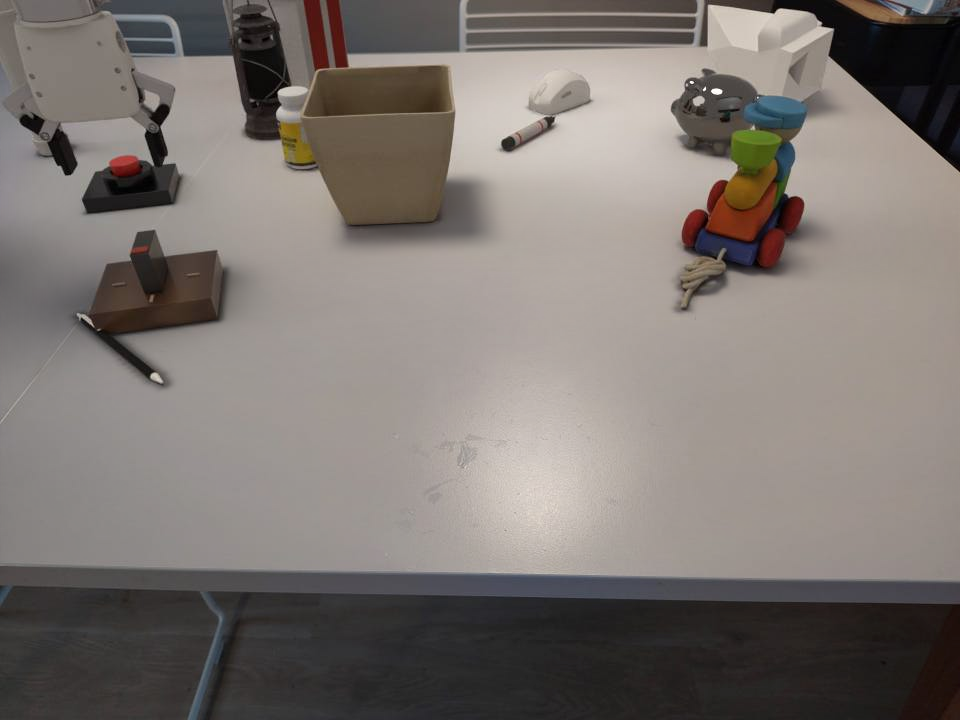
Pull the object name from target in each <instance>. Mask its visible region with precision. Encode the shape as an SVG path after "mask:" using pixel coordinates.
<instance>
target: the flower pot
mask: <svg viewBox="0 0 960 720" xmlns="http://www.w3.org/2000/svg"><path fill="white" fill-rule="evenodd" d="M300 118H301V122H302V125H303V128H304V131H305V134H306V137H307V140H308V143H309V146H310V148H311V151H312V153H313V156H314V159H315V161H316V164H317V166H316V167H317V168H318V171H319V173H320V175H321V178H322V180H323V182H324V184H325V186H326V188H327V190H328V193H329V195H330V197H331V198H332V201H333V203H334V204H335V206H336V208H337V210H338V211H339V213H340V215H341V216H342V218H343V220H344V221H345V223H346V224H347V225H351V226H356V225H357V226H359V225H361V226H362V225H383V224H384V225H385V224H408V223H409V224H411V223H429V222H433V221H435V220H436V219H437V217H438V213H439V211H440V207H441V204H442V201H443V200H442V199H443V195H444V192H445V188H446V183H447V178H448V174H449V168H450V162H451V156H452V155H451V154H452V149H453V141H454V134H455V123H456V122H455V121H456V105H455V98H454V93H453V83H452V69H451V65H448V64H445V63H443V64H417V65H415V64H414V65H387V66H384V65H383V66H382V65H381V66H355V67H354V66H353V67H349V68H326V69H319V70H317V71H316V72H315V75H314V78H313V82H312V85H311V87H310V90H309V93H308V96H307V98H306V101H305V103H304V106H303V108H302V111H301V114H300Z"/></svg>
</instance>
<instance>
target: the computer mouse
mask: <svg viewBox="0 0 960 720" xmlns="http://www.w3.org/2000/svg"><path fill="white" fill-rule="evenodd" d="M590 99H591V88H590V85H589V82H588V81H587V79H586V78H585V77H584V76H583V75H582V74H579V73H578V72H576V71H573V70H571V69H566V68H561V69H554V70H552V71H550V72H549V73H547V74H546V75H545V76H543V77H542V78H541V79H539V81H537V82H536V84H535V85H534V86H533V87H532V88H531V89H530V92H529V94H528V106H529V107H528V108H529V109H531V110H532V111H534V112H537V113H539V114H542V115H549V116H551V115H555V114H559V113H561V112H564V111H567V110H570V109H572V108H575V107H578V106H581V105H584V104H586V103H588V102H589V101H590Z"/></svg>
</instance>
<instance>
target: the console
mask: <svg viewBox="0 0 960 720" xmlns="http://www.w3.org/2000/svg"><path fill="white" fill-rule="evenodd" d="M164 256H165V259H166V262H167V265H168V269H167V274H166V278H165V282H164V286H163V291H158V292H151V293H144V291H143V288H142V286H141V283H140V281H139V278H138V276H137V273H136V271H135V268H134V266H133V263H132V261H131V260H125V261H118V262H109V263H106V265H105V268H104V271H103V274H102V276H101V278H100V282H99V284H98V287H97V290H96V293H95V296H94V297H93V301H92V304H91V306H90V309H89V311H88V318H90V319H91V321H92V323H93V326H94V328H95V330H96V332H98V330H97V329H101V330H102V331H106V332H107V333H108V334H109V335H115V334H123V333H130V332H136V331H137V332H138V331H143V330H150V329H151V330H152V329H157V328H165V327H171V326H173V327H174V326H178V325H187V324H193V323H201V322H207V321H213V320H215V321H216V320H218V319H219V311H220V303H221V302H220V301H221V292H222V284H223V274H224V268H223V265H222V261H221V257H220V255H219V251H218V249H214V250H206V251H198V252H189V253H182V254H174V255H164ZM99 331H100V330H99Z"/></svg>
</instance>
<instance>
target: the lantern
mask: <svg viewBox="0 0 960 720" xmlns="http://www.w3.org/2000/svg"><path fill="white" fill-rule="evenodd" d="M267 1H268V3H269V6H270V8H271V11H272V13H273V16H274V18H275V21H273V19H272V18H270V17H267V16H263V15H261V12H264V11H266V10H267V8H266V7H265V6H262V5H257V4H249V0H247V5H242V6H239V7H237V8H235V9H233V0H231V27H232V34H231V36H230V35H229V37H226V42H227V45H228V49H229V50H231V54H232V58H233V63H234V69H235V73H236V79H237V84H238V90H239V95H240V101H241V105H242V108H243V111H244V112H245V114H246V115H245V119H246V121H245V123H244V133H245V135H246V136H247V137H249V138H251V139H254V140H255V139H256V140H279V139H280V140H281V137H280V132H279V127H278V123H277V118H276V112H277V110H278V109H279V107H280V106H282V104H281V103H280V102H279V98H278V91H279V90H280V89H283V88H286V87H292V86H291V80H290V76H289V72H288V68H287V63H286V59H285V55H284V50H283V46H282V42H281V38H280V33H279V31H281V29H280V25H279V23H278V22H277V19H276V17H275V14H274V12H273V9H272V7H271V4H270V2H269V0H267ZM233 13H234V14H240V18H238V19H236V20H234V21H233ZM233 26H234V27H238V30H236V31H235V32H233ZM268 26H270V27H268ZM270 35H272V36H273V40H272V39H271V36H270ZM239 38H240V39H241V42H240V43H239V42H238V40H239ZM250 99H252V100H255V101H253V102H250Z"/></svg>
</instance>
